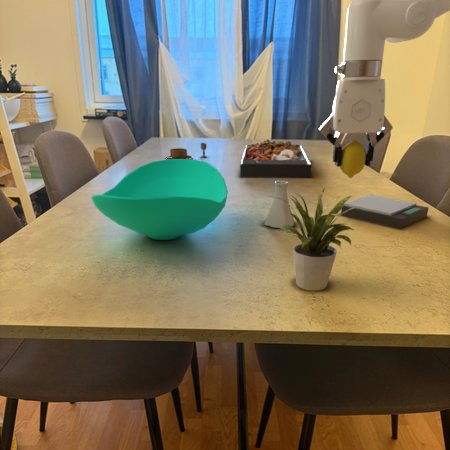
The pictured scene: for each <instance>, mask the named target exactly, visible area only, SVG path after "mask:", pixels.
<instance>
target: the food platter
mask: <svg viewBox="0 0 450 450" xmlns="http://www.w3.org/2000/svg"><path fill="white" fill-rule="evenodd" d="M312 165H313V164H312V163H311V161H310V159H309V157H308V155H307V153H306V152H305V149H304V147H303V146H302V145H299V144H292V142H291V141H290V140H287V141H285V142H284V141H282V140H281V141H276V140H272V141H270V140H269V139H266V140H262V141H260V142H256V143H252V144H248V145H246V144H244V151H243V155H242V159H241V162H240V167H239V168H240V171H239V172H240V173H239V174H240V175H239V177H240V178H275V179H276V178H280V179H281V178H282V179H283V178H286V179H287V178H288V179H290V178H292V179H293V178H294V179H295V178H296V179H301V178H302V179H311V178H312V167H313V166H312Z"/></svg>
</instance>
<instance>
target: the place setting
mask: <svg viewBox="0 0 450 450" xmlns="http://www.w3.org/2000/svg"><path fill="white" fill-rule="evenodd" d="M200 150H201V151H202V156H200V158H202V159H204V158H208V156H206V150H207V142H201V143H200ZM169 152H170V155H167V156H165V157H164V160H165V159H166V158H167V157H172V158H167V159H191V160H194V156H193V155H188V149H187V148H184V147H183V148H182V147H180V148H179V147H177V148H176V147H175V148H170V150H169ZM167 159H166V160H167Z"/></svg>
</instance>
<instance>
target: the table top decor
mask: <svg viewBox="0 0 450 450" xmlns="http://www.w3.org/2000/svg"><path fill="white" fill-rule="evenodd" d="M228 192H229V191H228V188H227V183H226V180H225V178H224V176H223V175H222V174H221V172H220V171H219V169H217V167H215V166H213V165H211V164H210V163H209V162H206V161H203V160H199V159H193V160H191V159H167V160H165V159H161V160H154V161H151V162H149V163H146V164H143V165H140V166H138V167H136V168H135V169H133V170H132V171H130V172H129V173H127V174H125V176H124V177H122V178H121V180H120V181H119V182H117V183H116V185H115V186H114V187H112V188H111V189H109V190H107V191H105V192H103V193H102V194H93V195H92V196H91V200H92V203H93V204H94V207H95V208H96V209H97V210H98V211H99V212H100V213H102V215H103V216H105V217H107V218H108V219H110V220H111V221H113V222H114V223H116V224H117V225H118V226H121V227H124V228H126V229H128V230H131V231H133V232H136V233H139V234H141V235H144V236H146V237H148V238H150V239H152V240H156V241H159V240H160V241H169V240H170V241H171V240H175V239H178V238H180V237H182V236H187V235H191V234H194V233H197V232H199V231H201V230H203V229H204V228H206V227H207V226H209V225H211V223H212V222H214V220H216V218H217V217H218V216H219V215H220V214H221V213H222V211H223V210H224V208H225V206H226V203H227V200H228V194H229V193H228Z"/></svg>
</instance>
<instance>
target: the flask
mask: <svg viewBox="0 0 450 450" xmlns="http://www.w3.org/2000/svg"><path fill="white" fill-rule="evenodd" d="M289 183H290V182H289V181H286V180H277V181H274V186H275V192H274V196H273V201H272V204H271V206H270V209H269V212H268V214H267V216H266V219H265V221H264V224H263V225H265V226H268V227H271V228H278V229H280V228H282V227H283V226H285V225H290V226H292V227H294V225H295V218H294V217H293V216H292V215H291V214H287V213H292V214H293V212H292V209H291V207H290V206H291V205H290V202H289V198H288V186H289ZM275 197H277V198H275ZM278 198H281V199H283V200H284V201H283V200H281V199H278ZM285 201H286V202H287V203H288V204H289V205H290V206H289V205H288V204H287V203H286V202H285Z"/></svg>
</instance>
